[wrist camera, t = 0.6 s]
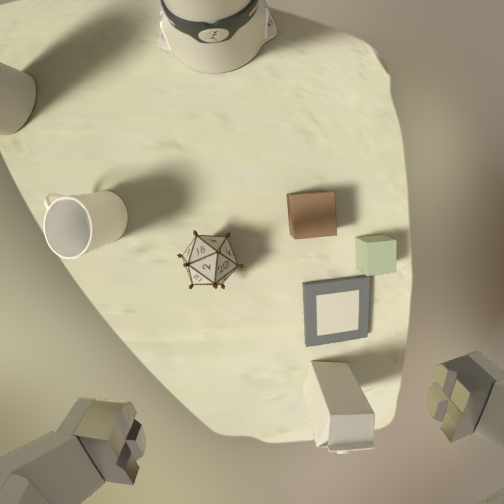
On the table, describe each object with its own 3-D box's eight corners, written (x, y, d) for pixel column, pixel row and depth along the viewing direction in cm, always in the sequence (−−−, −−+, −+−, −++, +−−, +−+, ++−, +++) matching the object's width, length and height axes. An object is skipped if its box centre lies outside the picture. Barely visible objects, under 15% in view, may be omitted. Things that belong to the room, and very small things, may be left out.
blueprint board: (302, 282, 48) (304, 285, 47) (367, 275, 49) (369, 277, 47) (304, 343, 51) (306, 347, 50) (365, 333, 51) (367, 337, 50)
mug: (62, 209, 45) (19, 218, 33) (87, 168, 44) (47, 166, 32) (109, 254, 47) (74, 274, 35) (138, 213, 45) (106, 222, 34)
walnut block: (286, 194, 46) (291, 195, 41) (325, 191, 46) (334, 192, 41) (289, 233, 47) (294, 239, 42) (327, 230, 47) (337, 235, 42)
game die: (217, 237, 50) (238, 211, 42) (236, 286, 49) (262, 270, 40) (165, 252, 46) (175, 227, 38) (184, 304, 45) (199, 292, 36)
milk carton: (310, 360, 52) (337, 434, 33) (347, 362, 52) (384, 431, 34) (301, 391, 53) (321, 466, 35) (336, 392, 54) (366, 462, 35)
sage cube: (355, 237, 47) (366, 242, 42) (382, 234, 47) (396, 239, 42) (355, 267, 48) (366, 276, 43) (382, 263, 48) (396, 272, 43)
